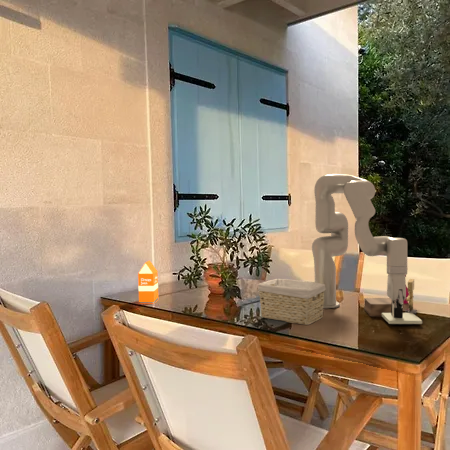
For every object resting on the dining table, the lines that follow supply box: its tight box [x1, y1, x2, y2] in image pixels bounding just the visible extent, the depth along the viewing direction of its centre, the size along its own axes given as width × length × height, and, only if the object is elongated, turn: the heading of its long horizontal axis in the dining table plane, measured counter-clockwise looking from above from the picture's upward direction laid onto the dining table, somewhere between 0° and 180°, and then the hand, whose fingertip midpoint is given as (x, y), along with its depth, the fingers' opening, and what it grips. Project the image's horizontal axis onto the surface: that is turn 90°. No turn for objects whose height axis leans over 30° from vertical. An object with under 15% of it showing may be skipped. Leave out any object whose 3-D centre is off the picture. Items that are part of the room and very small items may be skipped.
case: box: [363, 297, 391, 317], centre depth 196 cm, size 12×12×5 cm
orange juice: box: [137, 260, 159, 303], centre depth 229 cm, size 8×9×20 cm
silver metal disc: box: [404, 308, 418, 315], centre depth 195 cm, size 4×4×1 cm
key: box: [407, 278, 415, 310], centre depth 194 cm, size 12×2×12 cm, turn 153°
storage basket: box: [257, 278, 326, 326], centre depth 190 cm, size 24×16×15 cm
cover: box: [381, 303, 423, 325], centre depth 180 cm, size 12×12×6 cm
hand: (396, 316), depth 180 cm, fingers closed on cover, 3 cm apart
